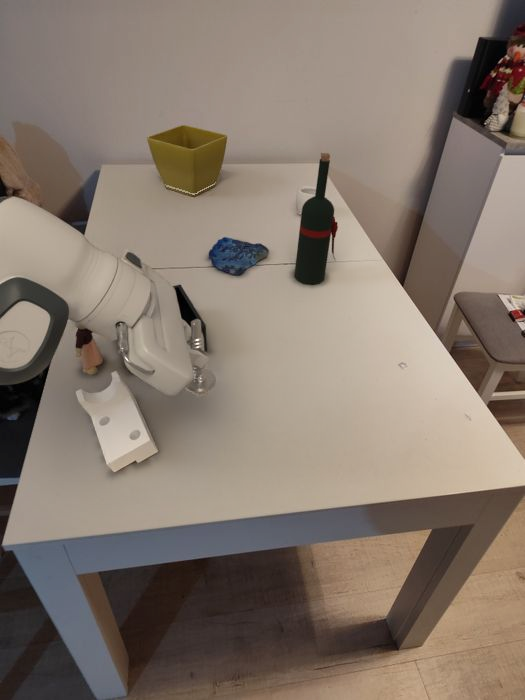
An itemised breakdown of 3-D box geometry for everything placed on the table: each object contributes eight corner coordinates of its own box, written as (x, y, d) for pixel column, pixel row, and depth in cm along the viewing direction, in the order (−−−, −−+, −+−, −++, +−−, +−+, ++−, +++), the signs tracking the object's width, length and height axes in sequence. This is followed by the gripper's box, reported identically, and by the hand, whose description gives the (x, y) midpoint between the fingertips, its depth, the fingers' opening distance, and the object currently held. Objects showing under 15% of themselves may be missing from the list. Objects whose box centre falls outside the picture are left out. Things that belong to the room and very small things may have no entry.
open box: (129, 372, 84) (124, 345, 80) (112, 326, 95) (106, 299, 90) (207, 351, 90) (205, 325, 85) (182, 309, 100) (180, 284, 96)
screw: (218, 379, 67) (214, 403, 64) (186, 377, 67) (180, 401, 63) (216, 309, 59) (212, 332, 55) (180, 307, 59) (173, 329, 55)
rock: (273, 252, 122) (273, 246, 120) (237, 280, 111) (237, 273, 110) (229, 238, 128) (229, 231, 126) (191, 263, 117) (190, 256, 115)
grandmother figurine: (101, 377, 83) (86, 324, 75) (79, 379, 82) (62, 325, 74) (106, 351, 89) (93, 298, 80) (86, 352, 88) (71, 299, 80)
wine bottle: (336, 284, 111) (359, 160, 92) (296, 285, 110) (310, 160, 91) (329, 268, 117) (349, 148, 98) (291, 268, 116) (304, 148, 96)
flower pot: (195, 203, 145) (192, 149, 134) (151, 189, 152) (145, 137, 141) (228, 185, 157) (228, 135, 146) (186, 173, 164) (183, 124, 153)
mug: (324, 219, 140) (328, 194, 135) (299, 221, 138) (301, 196, 133) (312, 203, 149) (315, 180, 144) (287, 205, 147) (289, 181, 142)
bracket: (96, 417, 77) (75, 391, 71) (134, 397, 79) (116, 370, 73) (116, 475, 69) (94, 451, 63) (158, 451, 70) (140, 426, 65)
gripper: (138, 339, 44) (234, 392, 52) (129, 242, 59) (205, 296, 67) (99, 378, 46) (198, 423, 54) (100, 275, 60) (177, 323, 69)
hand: (202, 352), depth 61 cm, fingers closed on screw, 2 cm apart
